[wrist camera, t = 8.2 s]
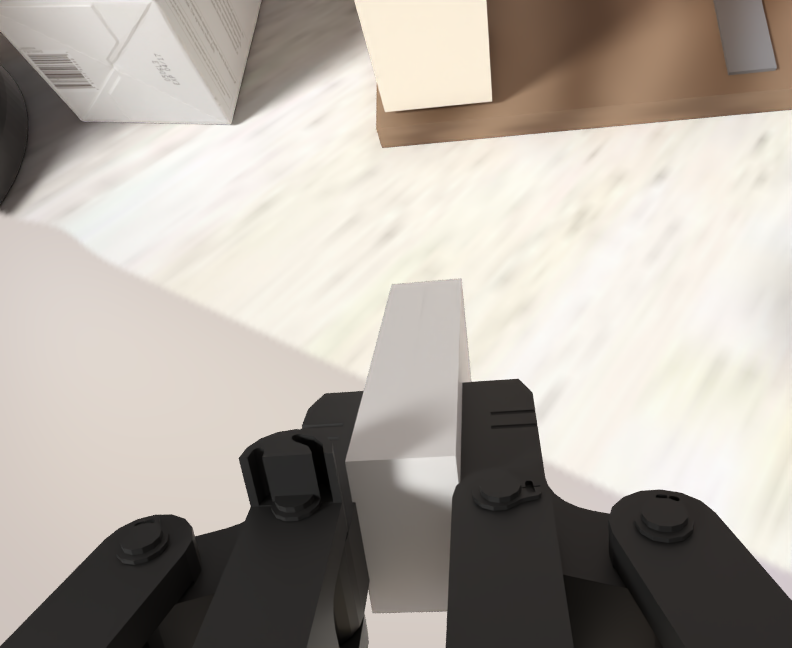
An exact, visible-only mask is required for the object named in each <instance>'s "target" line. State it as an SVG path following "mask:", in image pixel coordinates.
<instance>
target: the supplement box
mask: <svg viewBox="0 0 792 648" xmlns="http://www.w3.org/2000/svg"><path fill="white" fill-rule="evenodd" d="M261 1H262V0H0V31H1V33H2V34H3V35H4V36H5V37H6V38H7V39H8V40H9V41H10V43H11V44H12V45H13V46H14V47H15V48H16V49H17V50H18V51H19V53H20V54H21V55H22V56H23V57H24V58H25V59H26V60H27V61H28V63H29V64H30V65H31V66H32V67H33V68H34V69H35V70H36V71H37V72H38V73H39V75H40V76H41V77H42V78H43V79H44V80H45V81H46V82H47V83H48V85H49V86H50V87H51V88H52V89H53V90H54V91H55V92H56V93H57V94H58V96H59V97H60V98H61V99H62V100H63V101H64V102H65V103H66V104H67V105H68V106H69V108H70V109H71V110H72V111H73V112H74V113H75V114H76V115H77V116H78V118H79V119H80V120H81V121H84V122H136V123H185V124H226V125H230V124H231V123H232V119H233V115H234V111H235V107H236V103H237V99H238V95H239V90H240V86H241V82H242V78H243V74H244V70H245V66H246V62H247V58H248V54H249V50H250V46H251V42H252V38H253V34H254V30H255V25H256V21H257V17H258V13H259V9H260V5H261Z"/></svg>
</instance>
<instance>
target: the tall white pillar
mask: <svg viewBox="0 0 792 648" xmlns="http://www.w3.org/2000/svg"><path fill="white" fill-rule="evenodd" d="M354 1H355V5H356V9H357V12H358V16H359V19H360V23H361V27H362V30H363V34H364V38H365V41H366V45H367V49H368V52H369V56H370V59H371V63H372V67H373V70H374V74H375V78H376V81H377V85H378V89H379V92H380V96H381V99H382V103H383V107H384V110H385V112H392V111H402V110H412V109H422V108H432V107H442V106H452V105H462V104H472V103H481V102H491V101H492V88H491V71H490V54H489V36H488V19H487V2H486V0H354Z"/></svg>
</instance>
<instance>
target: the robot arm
mask: <svg viewBox="0 0 792 648" xmlns="http://www.w3.org/2000/svg"><path fill="white" fill-rule="evenodd" d="M27 134H28V118H27V110H26V105H25V102H24V98H23V96H22V93H21V91H20V89H19V87H18V85H17V84H16V82H15V81H14V79H13V78H12V77H11V76H10V75H9V73H8V72H7V71H6V70H5V69H4V68H3V67H2V66H1V65H0V203H1V202H2V201H3V199H4V197H5V196H6V194H7V193H8V191H9V189H10V187H11V186H12V184H13V182H14V180H15V177H16V175H17V173H18V171H19V168H20V166H21V162H22V159H23V156H24V152H25V148H26V142H27ZM239 461H240V465H241V469H242V473H243V477H244V481H245V485H246V489H247V493H248V497H249V501H250V505H251V508H250V510H249V513H248V515H247V517H246V520H245V521H244V522H242V523H240V524H238V525H235V526H232V527H229V528H226V529H222V530H218V531H215V532H211V533H207V534H203V535H199V536H195V535H194V532H193V528H192V526H191V525H190V524H189V523H188V522H187V521H186V519H184V518H181V517H178V516H175V515H153V516H149V517H145V518H141V519H137V520H135V521H133V522H131V523H129V524H127V525H125V526H123V527H121V528H119V529H118V530H116V531H115V532H114V533H112V534H111V535H110V536H109V537H107V538H106V539H105V540H104V541H103V542H102V543H101V544H100V545H99V546H98V547H97V548H96V549H95V550H94V551H93V552H92V553H91V554H90V555H89V556H88V557H87V558H86V559H85V560H84V561H83V562H82V563H81V565H79V566H78V567H77V568H76V569H75V571H74V572H73V573H72V574H71V575H70V576H69V577H68V578H67V579H66V580H65V581H64V582H63V583H62V584H61V585H60V586H59V587H58V588H57V589H56V590H55V591H54V592H53V593H52V594H51V595H50V596H49V597H48V598H47V599H46V600H45V601H44V602H43V603H42V604H41V605H40V606H39V607H38V608H37V609H36V610H35V611H34V612H33V613H32V614H31V615H30V616H29V617H28V618H27V620H25V622H23V624H22V625H21V626H20V627H19V628H18V629H17V630H16V631H15V632H14V633H13V634H12V635H11V636H10V637H9V638H8V639H7V640H6V641H5V642H4V643H3V644H2V645H1V646H0V648H368V643H369V641H368V631H367V625H366V619H365V615H364V611H365V605H366V599H367V593H368V590H369V595H370V601H371V607H372V612H373V613H397V612H398V613H400V612H439V611H440V612H442V611H447V632H446V633H447V634H446V648H792V600H791V599H790V598H789V597H788V596H787V595H786V593H785V592H784V591H783V590H782V589H781V588H780V587H779V585H778V584H777V583H776V582H775V581H774V580H773V579H772V577H771V576H770V575H769V574H768V573H767V572H766V570H765V569H764V568H763V567H762V566H761V565H760V563H759V562H758V561H757V560H756V559H755V558H754V557H753V555H752V554H751V553H750V552H749V551H748V550H747V549H746V547H745V546H744V545H743V544H742V543H741V542H740V540H739V539H738V538H737V537H736V536H735V535H734V534H733V532H732V531H731V530H730V529H729V528H728V527H727V525H726V524H725V523H724V522H723V521H722V520H721V519H720V517H719V516H718V515H717V514H716V513H715V512H714V511H713V510H712V509H710V508H709V507H708V506H707V505H705V504H704V503H703V502H702V501H700V500H698V499H695V498H693V497H690V496H688V495H685V494H683V493H679V492H672V491H666V490H648V491H639V492H636V493H633V494H631V495H628V496H625V497H623V498H622V499H621V500H620V501H618V502H617V503H616V504H615V505H614V506H613V507H612V510H611V513H610V514H608V513H601V512H596V511H591V510H587V509H584V508H579V507H577V506H574V505H572V504H570V503H568V502H565V501H564V500H562V499H561V498H560V497H558V496H557V495H556V494H554V492H553V491H552V490H551V489H550V487H549V486H548V484H547V481H546V479H545V473H544V467H543V460H542V453H541V447H540V440H539V433H538V427H537V420H536V413H535V406H534V400H533V393H532V392H531V391H530V390H529V389H528V388H527V387H526V386H525V385H524V384H523V383H522V382H521V381H520V380H519V379H509V380H494V381H478V382H471V372H470V362H469V351H468V341H467V331H466V320H465V310H464V299H463V289H462V279H449V280H438V281H426V282H414V283H402V284H392V286H391V289H390V293H389V297H388V301H387V305H386V308H385V312H384V316H383V320H382V324H381V327H380V331H379V335H378V339H377V342H376V346H375V350H374V354H373V358H372V361H371V365H370V369H369V373H368V377H367V380H366V384H365V388H364V391H357V392H342V393H326V394H324V395H323V396H322V397H321V398H320V399H319V400H317V401H316V402H315V403H314V404H313V405H312V406H311V407H310V408H309V409H308V411H307V414H306V417H305V419H304V422H303V425H302V429H301V430H299V429H294V430H288V431H282V432H277V433H274V434H272V435H269V436H266V437H264V438H261V439H259V440H258V441H257V442H255V443H253V444H252V445H250V446H249V447H248V448H246V450H245V451H244V452H243V453H242V455H241V456H240V457H239Z"/></svg>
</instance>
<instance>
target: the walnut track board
mask: <svg viewBox="0 0 792 648" xmlns="http://www.w3.org/2000/svg"><path fill="white" fill-rule="evenodd" d="M486 2H487V19H488V36H489V54H490V71H491V88H492V101H491V102H481V103H472V104H462V105H452V106H442V107H432V108H422V109H412V110H402V111H392V112H385V110H384V107H383V103H382V99H381V96H380V92H379V89H378V85H377V111H376V129H377V132H378V136H379V139H380V142H381V146H382V148H385V147H396V146H407V145H417V144H428V143H439V142H449V141H460V140H471V139H481V138H492V137H503V136H513V135H524V134H535V133H545V132H556V131H567V130H577V129H588V128H599V127H609V126H620V125H631V124H641V123H652V122H663V121H673V120H684V119H695V118H705V117H716V116H727V115H737V114H748V113H759V112H769V111H780V110H791V109H792V0H486Z"/></svg>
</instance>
